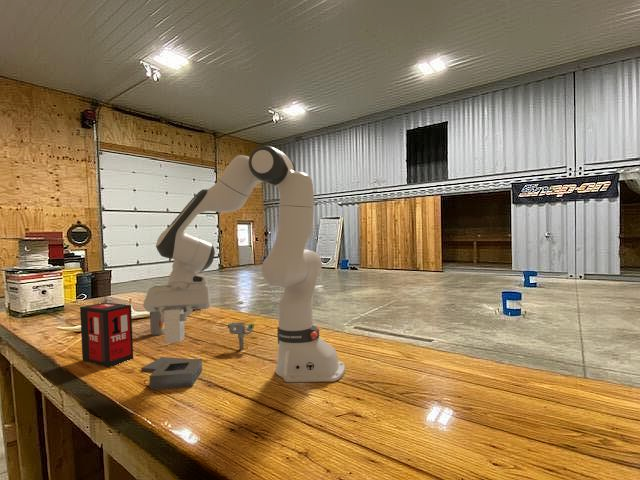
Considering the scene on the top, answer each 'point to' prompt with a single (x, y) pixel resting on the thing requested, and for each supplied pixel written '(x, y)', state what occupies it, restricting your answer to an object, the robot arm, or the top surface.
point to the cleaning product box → (106, 333)
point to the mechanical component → (240, 331)
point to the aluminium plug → (174, 325)
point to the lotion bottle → (156, 323)
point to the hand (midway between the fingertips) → (173, 320)
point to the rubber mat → (158, 363)
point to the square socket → (176, 374)
